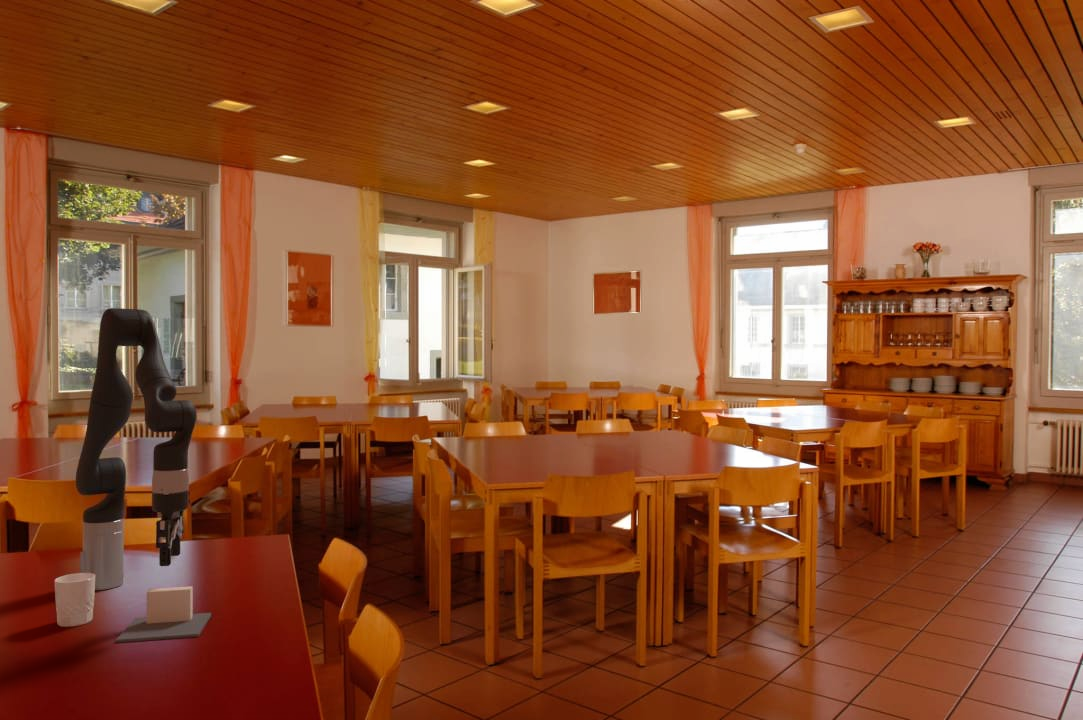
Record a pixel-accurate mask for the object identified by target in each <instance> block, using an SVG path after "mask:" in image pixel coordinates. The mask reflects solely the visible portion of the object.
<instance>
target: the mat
mask: <svg viewBox="0 0 1083 720" xmlns="http://www.w3.org/2000/svg"><path fill="white" fill-rule="evenodd" d="M211 617H212V612H201V613H200V612H199V613H193V617H192V619H191V620H190V621H177V622H162V623H148V624H147V616H144V617H143V616H142V617H135V618H134V619H133V620H132V621H131V622H130V624H129V625H128V626H127V627H125V629H124V630H123V631H122V632H121V634H119V636H118V637H117V638H116V639H115V643H117V644H118V643H130V642H131V643H132V642H142V641H143V642H144V641H145V642H146V641H156V640H157V641H158V640H171V639H183V638H197V637H199V636H200V635H201V633H202V632H203V630H204V628H205V627H206V625H207V623H208V622H209V619H210V618H211Z"/></svg>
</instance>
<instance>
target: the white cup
mask: <svg viewBox="0 0 1083 720" xmlns="http://www.w3.org/2000/svg"><path fill="white" fill-rule="evenodd" d="M95 591H96V590H95V574H92V573H80V572H78V573H71V574H65V575H62V576H59V577H56V578H54V594H55V595H54V598H55V609H56V620H57V621H56V624H57V626H59V627H64V628H70V627H77V626H82V625H86V624H88V623H90V622H92V620H93V617H94V606H95V596H96V595H95V594H96V593H95Z"/></svg>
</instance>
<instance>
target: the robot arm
mask: <svg viewBox="0 0 1083 720" xmlns="http://www.w3.org/2000/svg"><path fill="white" fill-rule="evenodd" d="M98 333H99V334H98V343H97V344H98V348H97V360H96V367H95V374H94V379H93V385H92V390H91V395H90V402H89V405H88V407H89V408H88V413H87V414H88V416H87V422H86V429H85V435H84V440H83V444H82V448H81V452H80V454H79V458H78V459H79V460H78V463H77V468H76V473H75V488H76V490H77V492H78V493H79V494H80V495H82V496H95V495H103V494H106V495H105V497H104V498H103V499H102V500H100V501H99V502H98V503H96V504H94V505H92V506H90V507H88V508H86V509H85V510H84V511H83V514H82V550H81V552H80V553H79V573H92V574H95V591H102V590H109V589H114V588H116V587H120V586H122V585H123V584H124V575H125V574H124V565H125V564H124V560H125V559H124V554H125V553H124V551H125V550H124V540H125V539H124V538H125V537H124V534H125V533H124V529H125V528H124V525H125V524H124V523H125V522H124V518H125V517H124V516H125V515H124V511H125V502H126V499H125V498H126V484H127V469H126V464H125V462H124V460H123V459H122V458H120V457H117V456H114V457H112V456H111V457H102V458H100V457H101V455H102V453H103V450H104V449H105V447H106V446H107V445H108V444H109V442H111V441H112V440H113V438H114V437H115V436H116V435H117V434H118V433H119V432H120V431H121V430H122V429H123V427H124V426H125V425H126V424H127V422H128V420H129V419H130V415H131V410H132V405H133V399H134V392H133V389H132V386H131V385H130V383H129V381H128V380H127V378H126V376H125V375H124V373H123V371H122V369H121V368H120V366H119V363H118V359H117V352H118V351H117V350H118V347H141V348H142V350H143V353H142V355H141V358H140V359H139V361H138V363H137V366H136V369H135V375H134V376H135V380H136V384H137V386H138V389H139V390H140V393H141V394H142V398H143V404H144V423H145V426H146V427H147V428H148V429H149V430H150V431H151V432H154V433H170V432H171V433H173V432H174V435H173V436H172V437H171V438H170V439H169V440H168V441H163V442H160V443H158V444H156V445H155V446H154V447H153V454H152V455H153V464H152V465H153V467H152V468H153V470H152V471H153V473H152V477H151V478H152V479H151V509H152V511H153V513H154V512H155V513H160V514H161V517H160V519H159V520H156V523H155V525H156V527H155V528H156V529H155V531H156V532H155V548H156V549H158V550H159V559H158V560H159V566H160V567H169V566H170V565H172V557H179V556H180V555H181V539H182V537H183V534H184V533H185V530H184V511H185V510H186V511H187V509H189V507H190V505H189V501H190V491H189V490H190V476H189V447H190V444H191V441H192V440H191V439H192V436H193V433H194V429H195V426H196V422H197V417H198V415H197V413H198V412H197V409H196V406H195V405H194V403H192V402H191V401H190V400H185V399H183V400H179V399H178V400H175V398H176V395H177V388H176V385H175V383H174V381H173V378H172V377H171V375H170V374H171V373H170V372H169V371H168V369H167V365H166V363H165V360H164V357H163V353H162V347H161V344H160V339H159V335H158V332H157V327H156V325H155V322H154V319H153V317H152V315H151V314H150V313H149V312H148V311H147V310H146V309H141V308H140V309H138V308H120V307H116V308H115V307H111V308H107V309H105V310H104V312H103V313H102V316H101V319H100V324H99V332H98ZM164 541H165V542H164Z"/></svg>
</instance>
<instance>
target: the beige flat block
mask: <svg viewBox="0 0 1083 720" xmlns="http://www.w3.org/2000/svg"><path fill="white" fill-rule="evenodd" d="M193 592H194V589H193V586H191V585H190V586H175V587H174V586H173V587H160V588H159V587H157V588H149V589H148V590H147V591H146V617H147V624H148V623H162V622H177V621H190V620H191V619H192V617H193V614H194V612H193V606H194V604H193V603H194V601H193V598H194V596H193V595H194V594H193Z"/></svg>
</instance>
